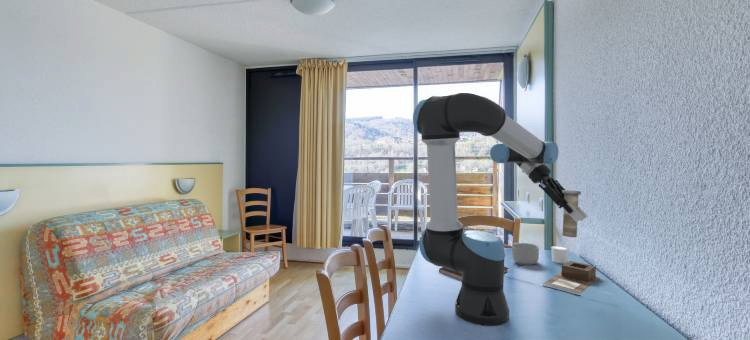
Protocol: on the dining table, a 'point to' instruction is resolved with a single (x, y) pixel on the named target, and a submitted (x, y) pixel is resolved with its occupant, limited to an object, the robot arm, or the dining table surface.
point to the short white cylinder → (559, 254)
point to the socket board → (578, 290)
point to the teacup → (525, 253)
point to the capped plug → (568, 222)
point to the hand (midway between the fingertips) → (581, 219)
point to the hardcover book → (458, 274)
